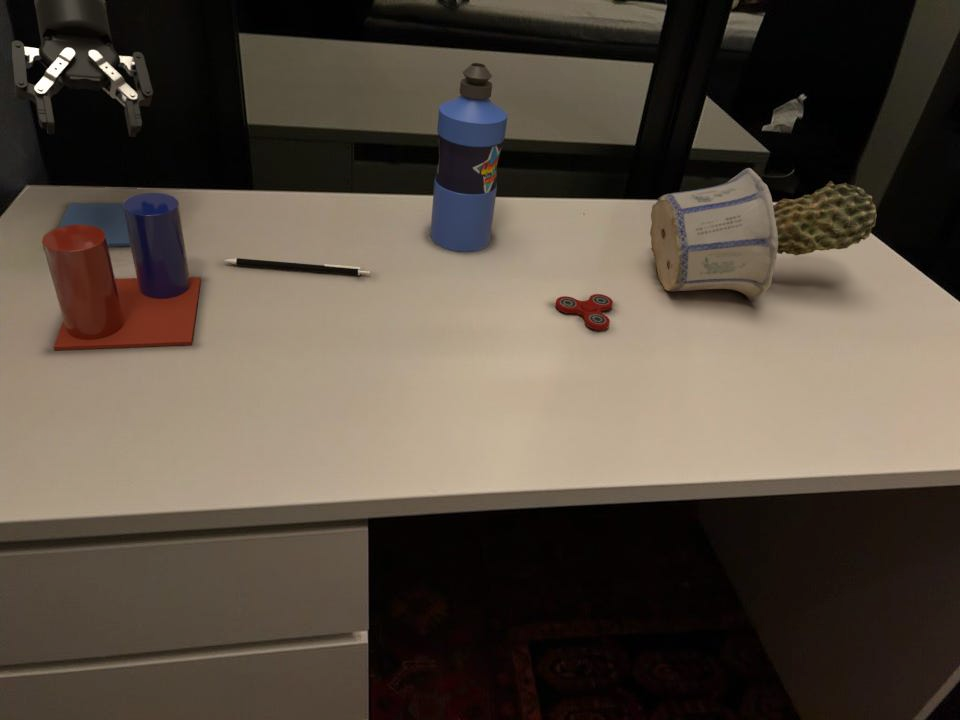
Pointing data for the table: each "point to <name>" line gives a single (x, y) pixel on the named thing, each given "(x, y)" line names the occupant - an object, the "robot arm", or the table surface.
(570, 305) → the fidget spinner
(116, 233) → the blue mat
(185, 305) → the red mat
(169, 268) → the dark blue cylinder
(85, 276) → the red cylinder
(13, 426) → the table surface
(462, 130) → the water bottle
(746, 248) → the potted plant
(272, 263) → the pen
